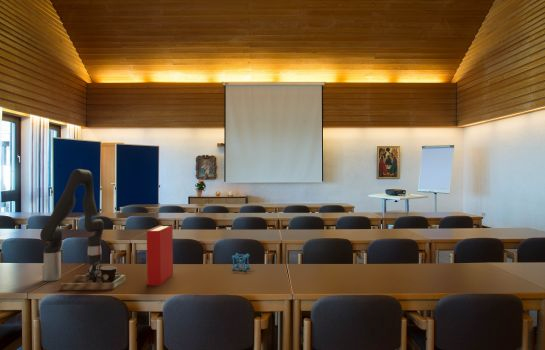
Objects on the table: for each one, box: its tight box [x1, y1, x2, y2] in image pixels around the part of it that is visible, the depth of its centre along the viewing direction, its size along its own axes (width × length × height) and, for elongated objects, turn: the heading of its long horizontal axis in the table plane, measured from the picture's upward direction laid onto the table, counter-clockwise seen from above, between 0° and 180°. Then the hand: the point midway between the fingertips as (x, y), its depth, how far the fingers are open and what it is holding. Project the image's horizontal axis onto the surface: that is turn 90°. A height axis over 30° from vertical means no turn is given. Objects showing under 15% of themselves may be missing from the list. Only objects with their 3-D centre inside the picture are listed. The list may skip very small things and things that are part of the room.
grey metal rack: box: [59, 271, 126, 291], centre depth 246 cm, size 30×27×4 cm
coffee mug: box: [96, 265, 117, 283], centre depth 242 cm, size 12×9×10 cm
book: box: [146, 224, 174, 286], centre depth 254 cm, size 27×8×32 cm, turn 178°
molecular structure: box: [231, 253, 251, 272], centre depth 278 cm, size 10×10×10 cm
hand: (94, 282), depth 242 cm, fingers closed
